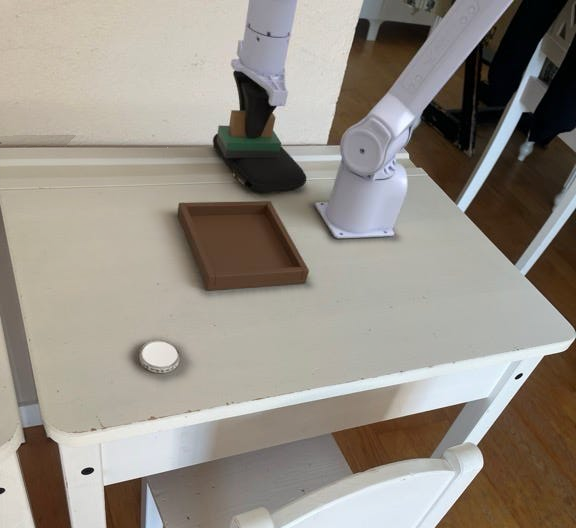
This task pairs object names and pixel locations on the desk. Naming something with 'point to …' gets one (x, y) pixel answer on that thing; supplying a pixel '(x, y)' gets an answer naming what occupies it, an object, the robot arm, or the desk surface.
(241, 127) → the brush
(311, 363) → the desk surface
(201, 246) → the tray
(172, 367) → the white bottle cap
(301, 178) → the carrying case
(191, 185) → the desk surface
